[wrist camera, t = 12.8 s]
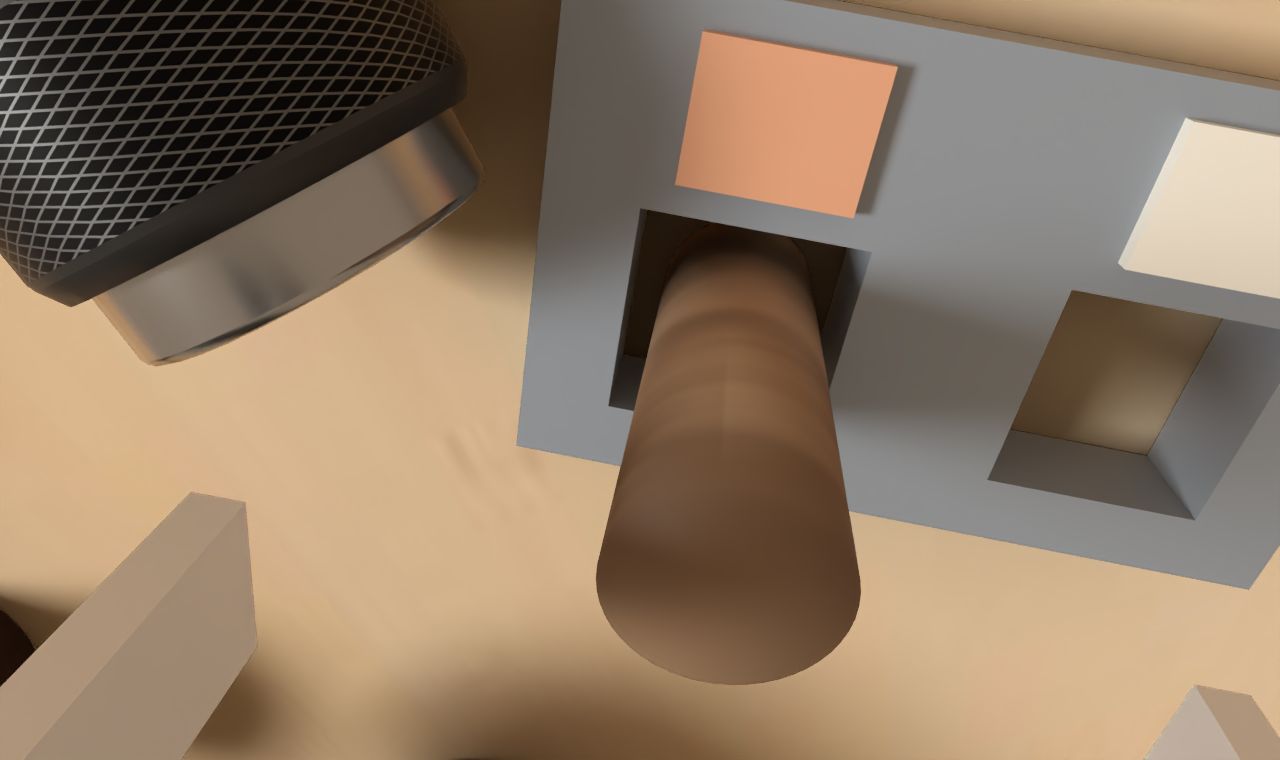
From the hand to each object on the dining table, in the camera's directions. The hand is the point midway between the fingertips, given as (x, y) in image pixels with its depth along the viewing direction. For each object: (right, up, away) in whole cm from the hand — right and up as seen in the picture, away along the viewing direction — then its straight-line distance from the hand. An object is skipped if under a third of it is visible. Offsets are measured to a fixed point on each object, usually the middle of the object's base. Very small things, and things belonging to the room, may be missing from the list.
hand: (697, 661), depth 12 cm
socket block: (+7, +7, +10) cm, 14 cm away
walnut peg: (+2, +6, +11) cm, 13 cm away
